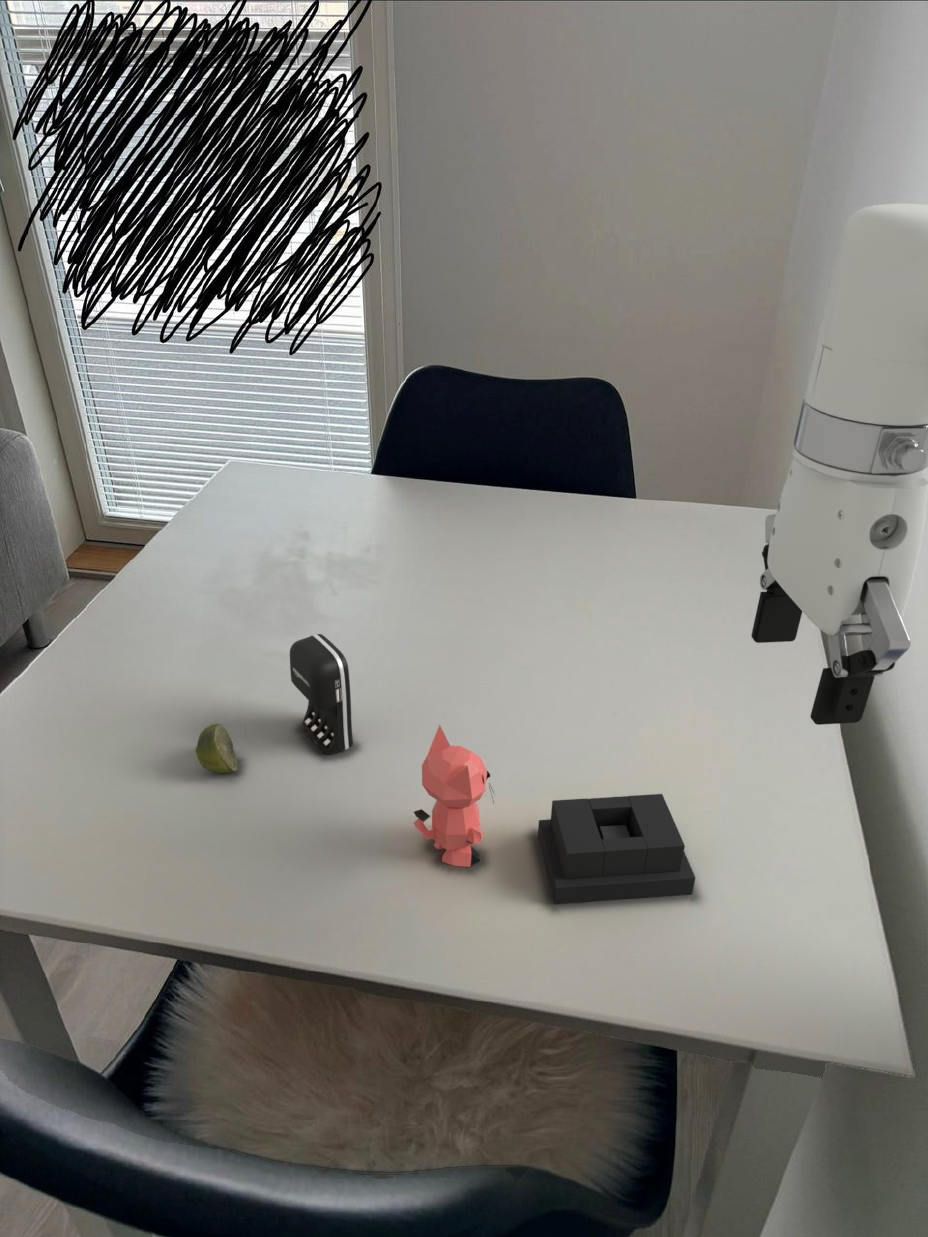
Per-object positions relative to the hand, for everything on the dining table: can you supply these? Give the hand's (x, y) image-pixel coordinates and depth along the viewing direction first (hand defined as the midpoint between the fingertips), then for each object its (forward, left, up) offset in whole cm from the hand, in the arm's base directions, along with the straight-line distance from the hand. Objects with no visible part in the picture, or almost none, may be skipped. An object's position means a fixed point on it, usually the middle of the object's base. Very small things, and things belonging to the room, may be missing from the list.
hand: (801, 677), depth 60 cm
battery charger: (+35, -27, -24) cm, 51 cm away
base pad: (+9, -7, -24) cm, 27 cm away
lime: (+45, -23, -24) cm, 56 cm away
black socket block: (+9, -7, -22) cm, 25 cm away
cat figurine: (+23, -10, -24) cm, 35 cm away
